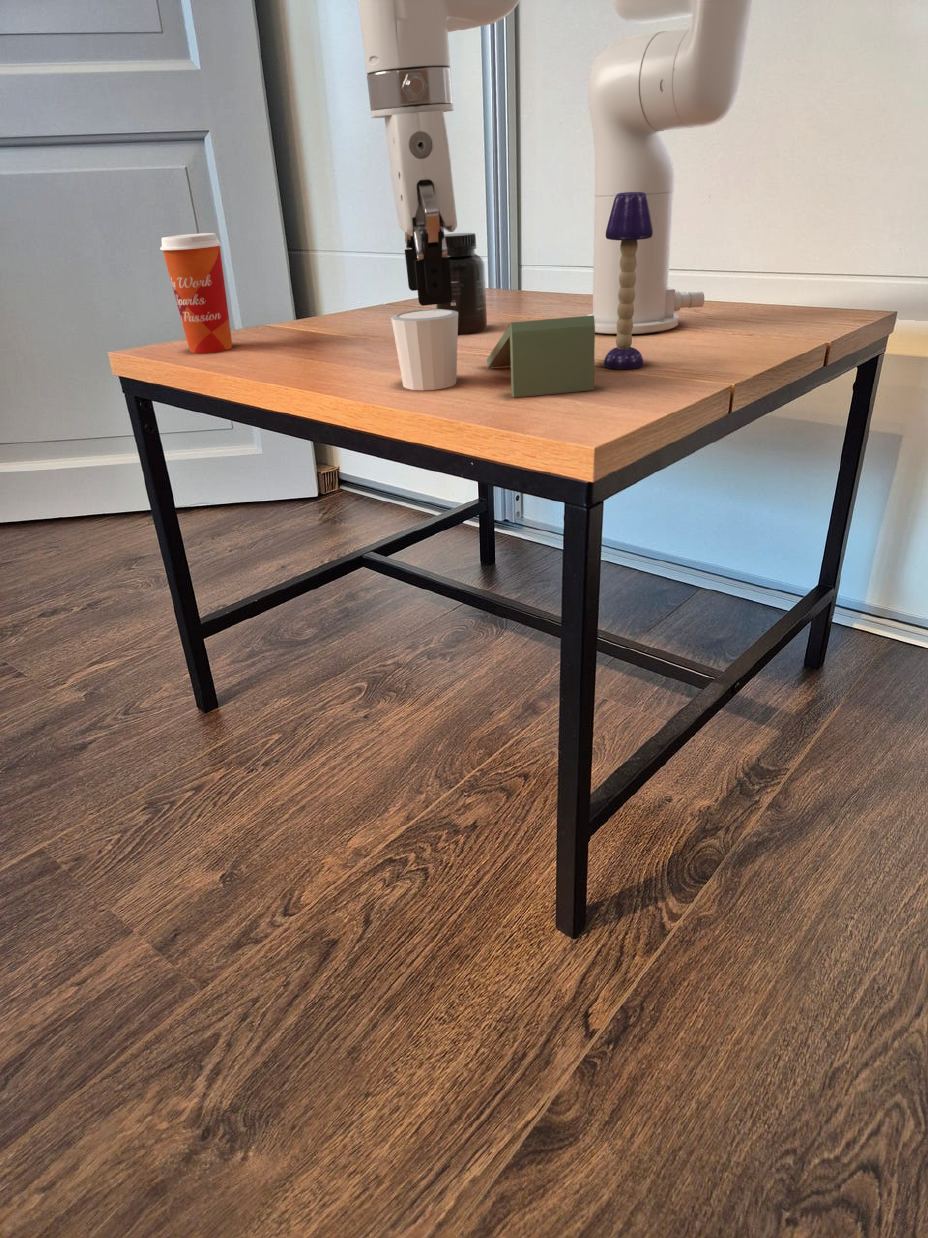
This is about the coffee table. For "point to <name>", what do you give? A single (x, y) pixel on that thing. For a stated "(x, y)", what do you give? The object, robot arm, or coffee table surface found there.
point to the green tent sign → (548, 355)
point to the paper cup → (199, 290)
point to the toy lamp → (627, 271)
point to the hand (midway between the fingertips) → (429, 295)
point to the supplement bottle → (466, 283)
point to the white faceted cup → (427, 348)
